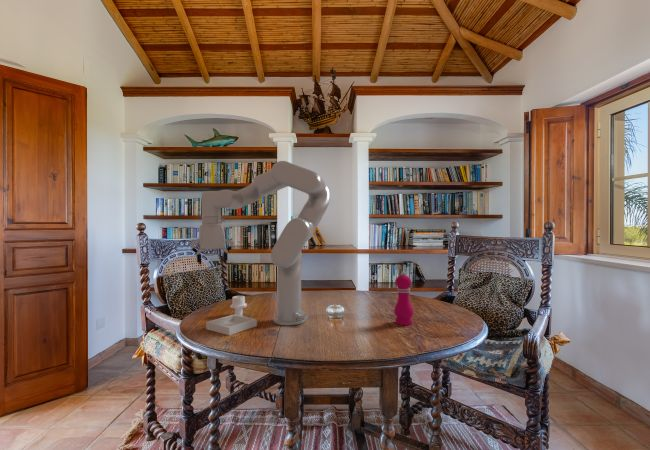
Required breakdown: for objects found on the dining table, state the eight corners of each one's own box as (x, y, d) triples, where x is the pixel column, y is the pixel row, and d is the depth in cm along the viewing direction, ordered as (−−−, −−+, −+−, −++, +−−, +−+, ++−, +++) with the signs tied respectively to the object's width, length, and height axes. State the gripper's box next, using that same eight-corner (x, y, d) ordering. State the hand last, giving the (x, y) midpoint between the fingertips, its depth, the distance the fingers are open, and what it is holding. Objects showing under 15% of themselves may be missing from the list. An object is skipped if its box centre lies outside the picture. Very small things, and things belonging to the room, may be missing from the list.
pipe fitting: (239, 318, 140) (239, 299, 140) (227, 316, 144) (226, 297, 144) (250, 315, 145) (250, 296, 145) (238, 312, 149) (238, 294, 149)
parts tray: (256, 325, 129) (256, 319, 129) (229, 335, 118) (229, 327, 118) (233, 320, 137) (233, 314, 137) (206, 329, 126) (206, 322, 126)
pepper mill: (415, 321, 133) (414, 270, 133) (411, 326, 126) (411, 272, 126) (396, 319, 136) (396, 269, 136) (392, 324, 129) (391, 272, 129)
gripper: (231, 221, 146) (232, 261, 146) (188, 222, 139) (189, 264, 139) (234, 221, 139) (235, 262, 139) (189, 221, 132) (190, 265, 132)
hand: (212, 263), depth 139 cm, fingers open, 9 cm apart
